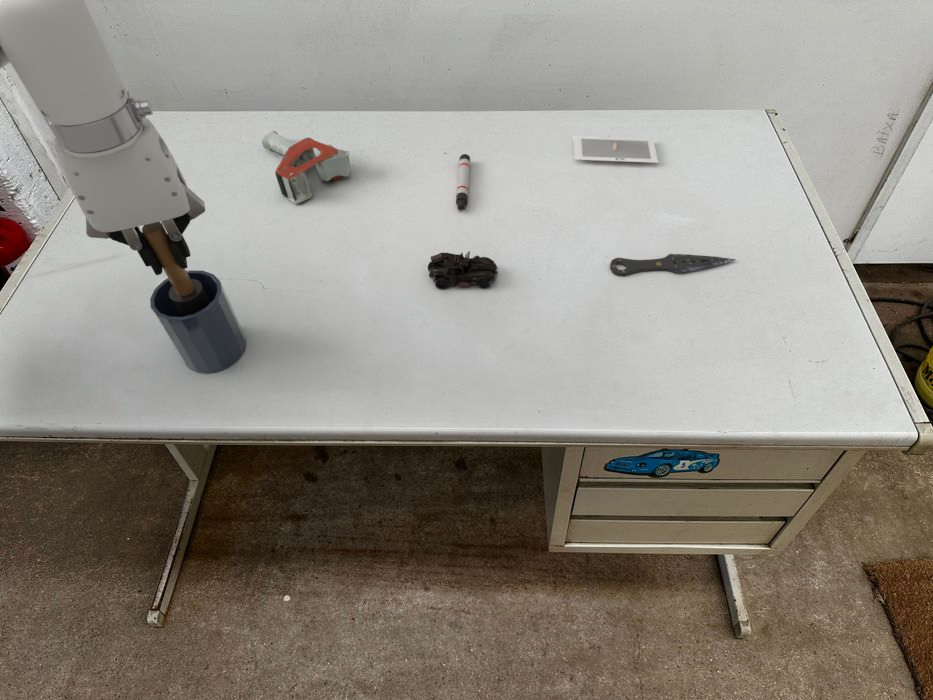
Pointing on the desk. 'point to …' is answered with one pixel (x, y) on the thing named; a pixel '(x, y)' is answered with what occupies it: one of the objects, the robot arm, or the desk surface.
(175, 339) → the pen cup
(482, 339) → the desk surface
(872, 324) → the desk surface
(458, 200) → the marker
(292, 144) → the tape dispenser
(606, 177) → the desk surface
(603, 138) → the touchpad
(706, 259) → the throwing knife
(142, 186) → the robot arm
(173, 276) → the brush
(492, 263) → the toy car
